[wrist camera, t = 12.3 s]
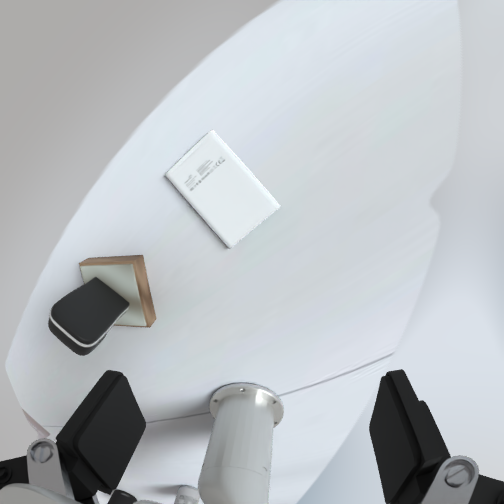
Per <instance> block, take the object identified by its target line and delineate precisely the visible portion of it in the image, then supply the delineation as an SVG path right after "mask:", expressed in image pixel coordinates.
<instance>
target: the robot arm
mask: <svg viewBox="0 0 504 504" xmlns="http://www.w3.org/2000/svg"><path fill="white" fill-rule="evenodd" d="M209 409H210V413H211V415H212V416H213V418H214V419H215V421H214V425H213V429H212V432H211V436H210V440H209V444H208V447H207V451H206V455H205V458H204V462H203V466H202V469H201V473H200V477H199V480H198V491H199V495H200V497H201V499H202V501H203V503H204V504H268V498H269V485H270V472H271V458H272V443H273V428H274V427H276V426H277V425H278V424H279V423H280V422H281V420H282V418H283V413H284V407H283V404H282V401H281V400H280V398H279V397H278V396H277V395H276V394H275V393H273V392H272V391H270V390H269V389H266V388H264V387H262V386H258V385H255V384H249V383H237V384H231V385H227V386H224V387H222V388H220V389H219V390H217V391H216V392H215V393H214V394H213V396H212V398H211V401H210V404H209ZM145 428H146V422H145V419H144V417H143V415H142V413H141V411H140V408H139V406H138V404H137V402H136V399H135V397H134V395H133V392H132V390H131V387H130V385H129V382H128V380H127V378H126V377H125V376H124V375H123V373H121V372H118V371H111V370H107V371H106V372H105V373H104V374H103V376H102V377H101V378H100V379H99V381H98V382H97V383H96V385H95V386H94V387H93V389H92V390H91V391H90V392H89V394H88V395H87V396H86V398H85V399H84V400H83V402H82V403H81V404H80V406H79V407H78V408H77V410H76V411H75V412H74V414H73V415H72V416H71V418H70V419H69V420H68V422H67V423H66V424H65V426H64V427H63V429H62V430H61V431H60V433H59V434H58V435H57V437H56V440H57V442H56V443H54V442H53V441H52V440H50V439H46V438H44V439H39V440H36V441H35V442H33V443H32V444H31V445H30V446H29V448H28V450H27V455H26V456H22V457H19V458H14V459H10V460H5V461H1V462H0V504H99V502H98V499H97V496H96V492H97V490H99V491H101V492H104V493H107V494H111V492H112V490H114V489H116V488H117V486H118V484H119V482H120V480H121V478H122V476H123V474H124V472H125V469H126V467H127V465H128V463H129V461H130V459H131V457H132V455H133V453H134V451H135V449H136V447H137V445H138V443H139V441H140V439H141V436H142V434H143V432H144V430H145ZM369 431H370V436H371V440H372V444H373V448H374V452H375V456H376V461H377V465H378V470H379V474H380V479H381V483H382V488H383V493H384V498H385V502H386V504H504V482H503V481H499V480H496V479H492V478H489V477H486V476H483V475H480V474H479V469H478V466H477V464H476V462H475V461H473V460H472V459H471V458H469V457H467V456H454V457H451V456H450V454H449V452H448V449H447V447H446V445H445V443H444V440H443V438H442V436H441V434H440V432H439V429H438V427H437V425H436V423H435V421H434V419H433V416H432V414H431V412H430V410H429V408H428V406H427V404H426V403H425V402H424V401H419V400H418V398H417V396H416V394H415V392H414V390H413V388H412V386H411V384H410V382H409V380H408V378H407V376H406V374H405V372H404V370H402V369H401V370H395V371H389V372H387V373H386V376H383V377H382V378H381V381H380V386H379V390H378V394H377V398H376V402H375V406H374V410H373V414H372V418H371V421H370V426H369ZM133 504H162V503H158V502H154V501H149V500H140V501H136V502H134V503H133Z"/></svg>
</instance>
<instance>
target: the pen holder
mask: <svg viewBox="0 0 504 504" xmlns="http://www.w3.org/2000/svg"><path fill="white" fill-rule="evenodd" d="M136 501H137V499H136V498H135V497H134V496H132V495H130V494H129V493H126V492H124V491H121V490H115V491H114V493H113V494H112V496H111V498H110V500H109V502H108V504H133V503H134V502H136Z"/></svg>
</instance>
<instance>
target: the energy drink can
mask: <svg viewBox="0 0 504 504" xmlns="http://www.w3.org/2000/svg"><path fill="white" fill-rule="evenodd" d="M199 498H200V495H199V491H198V489H197V488H195V487H192V486H187V485H184V486H182V487H180V488H179V490H178V493H177V496H176V499H175V502H174V504H198V502H199Z"/></svg>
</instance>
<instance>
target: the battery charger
mask: <svg viewBox="0 0 504 504" xmlns="http://www.w3.org/2000/svg"><path fill="white" fill-rule="evenodd" d="M129 305H130V303H129V302H128V301H127V300H125V299H124V298H123V297H122V296H120V295H119V294H118V293H117V292H115V291H114V290H113V289H111V288H110V287H109V286H108V285H106V284H105V283H104V282H102V281H101V280H100V279H98V278H97V277H94V278H93V279H91V280H90V281H89V282H87V283H86V284H84V285H83V286H81V287H79V288H77V289H76V290H74V291H72V292H71V293H69V294H68V295H66V296H65V297H63V298H62V299H61V300H59V301H58V302H57V303H55V304H54V306H53V307H52V308H51V310H50V317H49V323H48V324H49V329H50V331H51V332H52V333H53V334H54V335H55V336H56V337H57V338H58V339H59V340H60V341H61V342H62V343H64V344H65V345H66V346H67V347H68V348H70V349H71V350H72V351H73V352H75V353H76V354H78V355H83V356H84V355H87V354H89V353H90V352H91V351H93V350H94V349H95V348H96V347H97V346H98V345H99V344H100V342H101V341H102V340H103V339H104V338H105V336H106V334H107V332H108V331H109V330H110V329H111V327H112V326H113V325H114V324H115V322H116V321H117V320H118V319H119V318H120V317H122V315H124V314H125V313H126V311H127V310H128V308H129Z"/></svg>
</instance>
